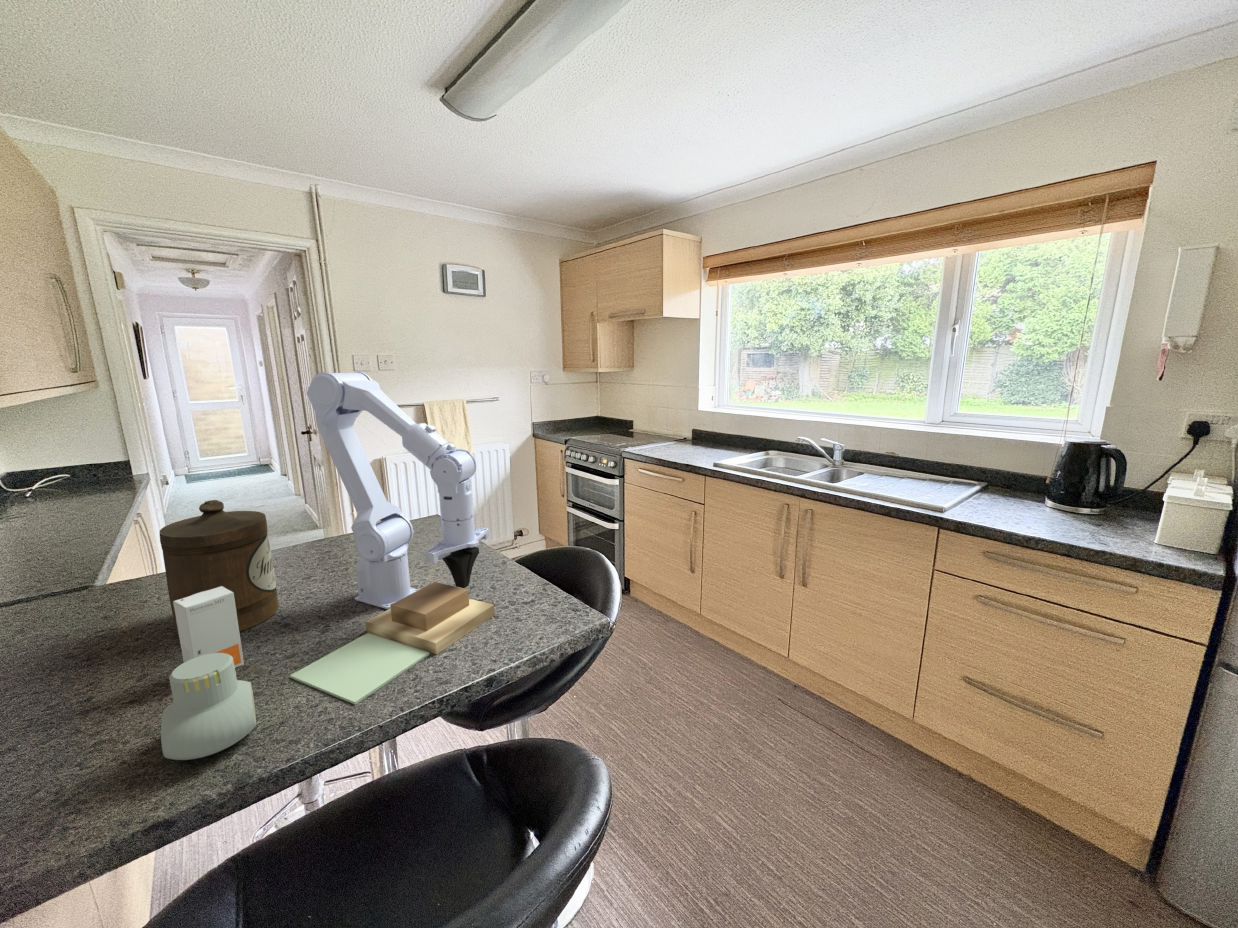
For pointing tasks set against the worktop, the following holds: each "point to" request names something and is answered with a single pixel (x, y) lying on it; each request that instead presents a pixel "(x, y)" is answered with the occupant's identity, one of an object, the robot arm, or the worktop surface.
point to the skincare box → (209, 625)
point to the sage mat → (360, 667)
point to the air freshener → (206, 708)
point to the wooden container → (222, 560)
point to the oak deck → (437, 635)
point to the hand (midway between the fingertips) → (462, 585)
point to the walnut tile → (429, 606)
